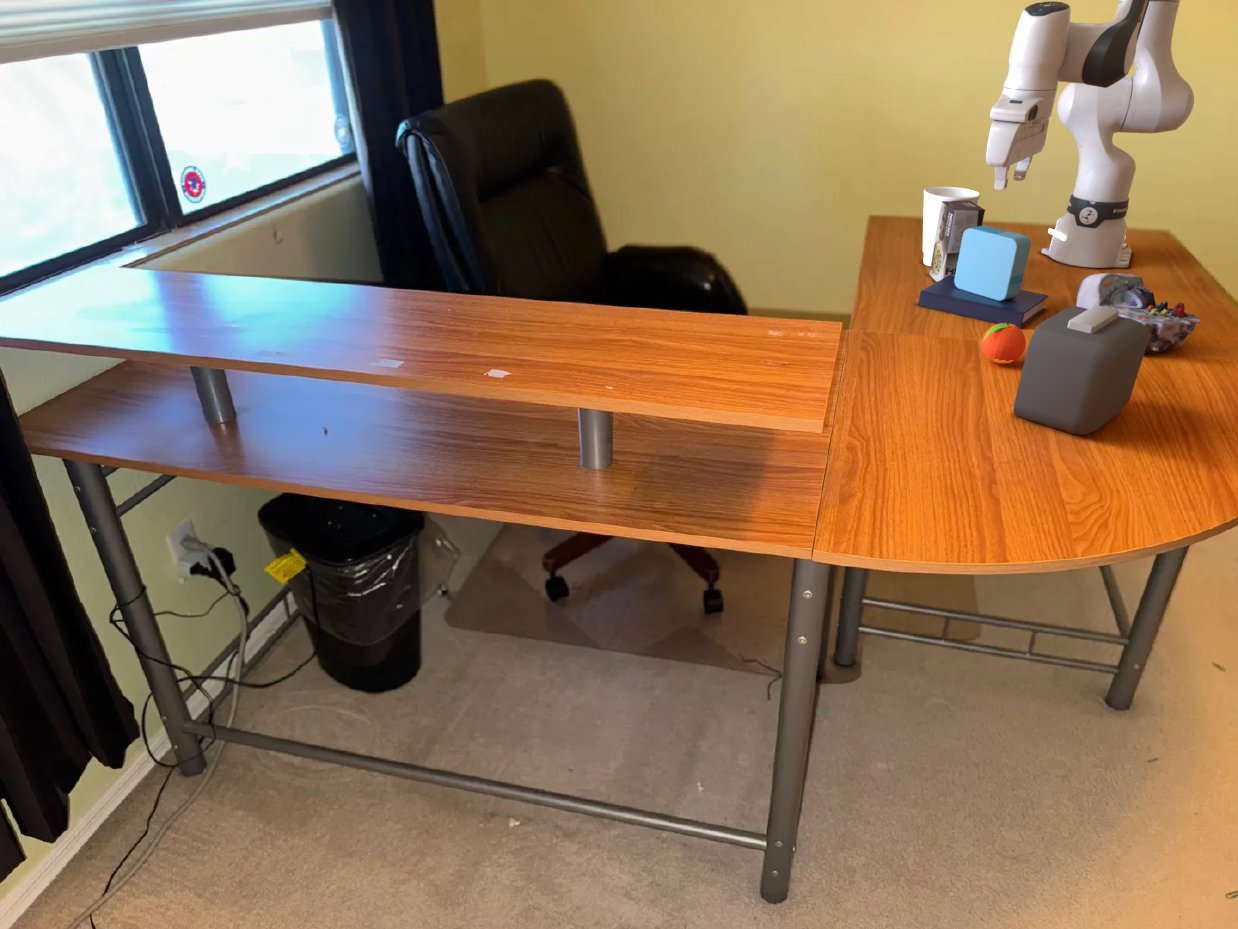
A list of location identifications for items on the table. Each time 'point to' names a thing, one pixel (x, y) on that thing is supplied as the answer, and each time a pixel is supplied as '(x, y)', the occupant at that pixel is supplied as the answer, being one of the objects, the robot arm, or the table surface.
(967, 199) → the cup
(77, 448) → the table surface
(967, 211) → the coffee box
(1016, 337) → the clementine
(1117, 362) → the alarm clock
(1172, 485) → the table surface
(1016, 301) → the book
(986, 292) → the data package
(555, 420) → the table surface
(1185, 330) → the cell model
